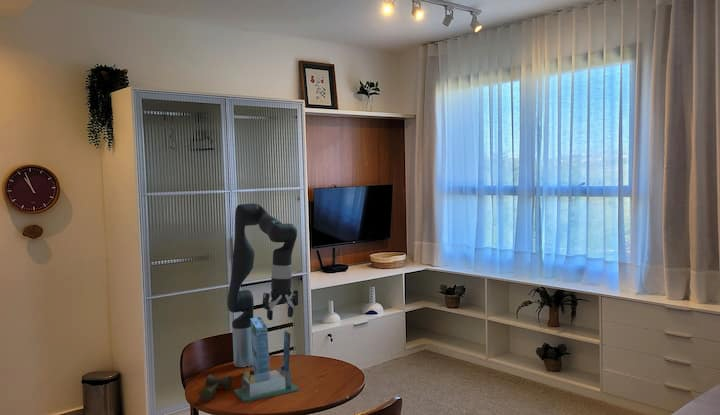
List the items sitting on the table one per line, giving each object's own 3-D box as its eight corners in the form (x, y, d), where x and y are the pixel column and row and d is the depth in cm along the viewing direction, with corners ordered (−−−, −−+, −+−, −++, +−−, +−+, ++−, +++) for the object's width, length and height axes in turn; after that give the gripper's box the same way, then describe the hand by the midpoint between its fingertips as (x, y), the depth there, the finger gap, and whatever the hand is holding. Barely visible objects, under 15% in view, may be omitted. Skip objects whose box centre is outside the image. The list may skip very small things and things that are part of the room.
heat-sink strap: (284, 331, 224) (286, 331, 225) (282, 370, 224) (285, 370, 225) (288, 333, 221) (290, 333, 221) (286, 373, 221) (289, 373, 221)
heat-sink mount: (233, 392, 219) (232, 371, 219) (286, 380, 230) (285, 360, 230) (243, 402, 208) (242, 380, 208) (299, 390, 218) (298, 369, 218)
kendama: (193, 403, 210) (213, 383, 230) (217, 404, 209) (236, 384, 229) (192, 388, 210) (213, 369, 230) (217, 389, 209) (236, 369, 228)
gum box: (270, 383, 228) (267, 326, 227) (257, 384, 227) (255, 328, 226) (264, 368, 247) (261, 316, 246) (252, 370, 245) (249, 318, 244)
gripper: (292, 273, 221) (290, 314, 222) (259, 276, 212) (258, 318, 213) (302, 276, 215) (301, 318, 216) (269, 279, 206) (268, 323, 207)
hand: (280, 318), depth 215 cm, fingers open, 8 cm apart
